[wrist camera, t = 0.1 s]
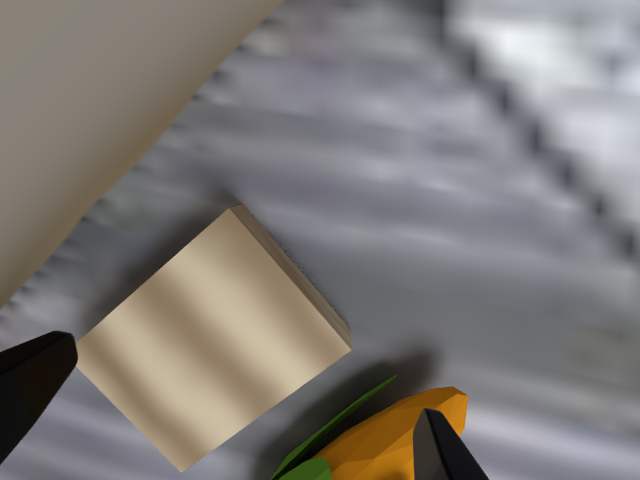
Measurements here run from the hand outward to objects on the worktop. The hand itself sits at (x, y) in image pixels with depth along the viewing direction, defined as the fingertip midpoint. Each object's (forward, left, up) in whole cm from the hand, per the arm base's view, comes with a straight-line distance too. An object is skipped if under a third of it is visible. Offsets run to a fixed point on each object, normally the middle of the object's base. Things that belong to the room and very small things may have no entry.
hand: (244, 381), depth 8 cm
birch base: (-9, -1, -15) cm, 18 cm away
